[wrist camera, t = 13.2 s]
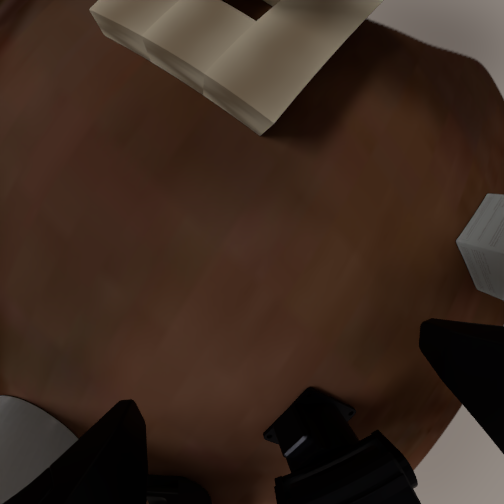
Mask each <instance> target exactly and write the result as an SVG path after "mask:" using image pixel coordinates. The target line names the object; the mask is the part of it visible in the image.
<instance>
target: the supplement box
mask: <svg viewBox="0 0 504 504" xmlns="http://www.w3.org/2000/svg"><path fill="white" fill-rule="evenodd" d="M456 243H457V246H458V248H459V250H460V252H461V254H462V256H463V259H464V261H465V263H466V265H467V268H468V270H469V272H470V275H471V277H472V279H473V282H474V284H475V286H476V288H477V290H479V291H482V292H484V293H487V294H489V295H491V296H494V297H496V298H499V299H501V300H504V195H500V194H489V193H488V194H487V195H486V197H485V198H484V200H483V202H482V203H481V205H480V206H479V208H478V209H477V211H476V212H475V214H474V216H473V217H472V219H471V220H470V222H469V223H468V224H467V226H466V227H465V229H464V230H463V232H462V233H461V234H460V236H459V237H458V239H457V240H456Z"/></svg>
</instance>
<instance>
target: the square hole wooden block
mask: <svg viewBox="0 0 504 504" xmlns="http://www.w3.org/2000/svg"><path fill="white" fill-rule="evenodd" d="M263 1H265V2H266V3H268V4H270V5H271V6H273V7H272V8H271V9H270V10H269V11H267V12H266V13H265V14H264V15H263V16H262V17H261V18H260V19H258V20H257V21H255V20H253V19H252V18H250V17H249V16H247V15H245V14H244V13H242V12H240V11H239V10H237V9H235V8H234V7H232V6H230V5H228V4H227V3H225V2H223V1H221V0H98V1H97V2H96V3H95V4H94V5H93V6H92V7H91V8H90V9H89V10H90V12H91V14H92V15H93V17H94V19H95V20H96V22H97V24H98V25H99V27H100V29H101V30H102V32H103V34H104V35H105V36H107V37H108V38H110V39H112V40H114V41H116V42H118V43H119V44H121V45H123V46H125V47H127V48H128V49H130V50H132V51H134V52H135V53H137V54H139V55H140V56H142V57H144V58H145V59H147V60H149V61H151V62H152V63H154V64H155V65H157V66H159V67H160V68H162V69H164V70H165V71H167V72H168V73H170V74H172V75H173V76H175V77H176V78H178V79H179V80H181V81H183V82H184V83H186V84H187V85H189V86H190V87H192V88H193V89H195V90H196V91H198V92H199V93H201V94H202V95H204V96H205V97H207V98H208V99H209V100H211V101H212V102H214V103H215V104H217V105H218V106H220V107H221V108H222V109H224V110H225V111H227V112H228V113H229V114H231V115H232V116H234V117H235V118H236V119H238V120H239V121H240V122H242V123H243V124H245V125H246V126H247V127H249V128H250V129H251V130H253V131H254V132H255V133H257V134H258V135H259V136H261V135H262V134H263V133H264V132H265V131H266V130H267V129H269V128H270V127H271V126H272V125H273V124H274V123H275V122H276V121H277V119H278V118H279V117H280V116H281V115H282V113H283V112H284V111H285V110H286V108H287V107H288V106H289V105H290V104H291V102H292V101H293V100H294V99H295V98H296V96H297V95H298V94H299V93H300V92H301V91H302V89H303V88H304V87H305V86H306V85H307V83H308V82H309V81H310V80H311V79H312V78H313V76H314V75H315V74H316V73H317V72H318V71H319V70H320V68H321V67H322V66H323V65H324V64H325V63H326V62H327V60H328V59H329V58H330V57H331V56H332V55H333V54H334V53H335V52H336V50H337V49H338V48H339V47H340V46H341V45H342V44H343V43H344V42H345V41H346V39H347V38H348V37H349V36H350V35H351V34H352V33H353V32H354V31H355V30H356V29H357V28H358V27H359V25H360V24H361V23H362V22H363V21H364V20H365V19H366V18H367V17H368V16H369V15H370V14H371V13H372V12H373V11H374V10H375V9H376V8H377V7H378V6H379V5H380V4H381V3H382V2H383V1H384V0H263Z"/></svg>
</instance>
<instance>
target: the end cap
mask: <svg viewBox="0 0 504 504" xmlns="http://www.w3.org/2000/svg"><path fill="white" fill-rule="evenodd" d="M147 500H148V502H149V504H212V502H211V498H210V496H209V494H208V492H207V491H206V490H205V489H204V488H203V487H202V486H201V485H199V484H197V483H195V482H193V481H190V480H188V479H187V478H185V477H180V476H162V475H148V478H147Z"/></svg>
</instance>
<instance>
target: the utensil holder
mask: <svg viewBox="0 0 504 504" xmlns="http://www.w3.org/2000/svg"><path fill="white" fill-rule="evenodd" d="M77 440H78V438H77V437H76V436H75V435H74V434H73V433H72V432H71V431H70V430H69V429H68V428H67V427H66V426H65V425H63V424H62V423H61V422H59V421H58V420H56V419H55V418H54V417H52V416H51V415H49V414H48V413H46V412H45V411H43V410H42V409H40V408H38V407H36V406H34V405H32V404H30V403H28V402H26V401H24V400H21V399H19V398H15V397H11V396H0V504H2V503H4V502H5V501H7V500H8V499H9V498H11V497H12V496H14V495H15V494H16V493H18V492H19V491H20V490H22V489H23V488H24V487H26V486H27V485H28V484H30V483H31V482H32V481H33V480H34V479H35V478H37V477H38V476H39V475H40V474H41V473H42V472H43V471H44V470H46V469H47V468H48V467H49V468H50V465H51V464H52V463H53V462H54V461H55V460H57V459H58V458H59V457H60V456H61V455H62V454H63V453H64V452H65V451H66V450H67V449H69V448H70V447H71V446H72V445H73V444H74V443H75V442H76V441H77Z"/></svg>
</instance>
